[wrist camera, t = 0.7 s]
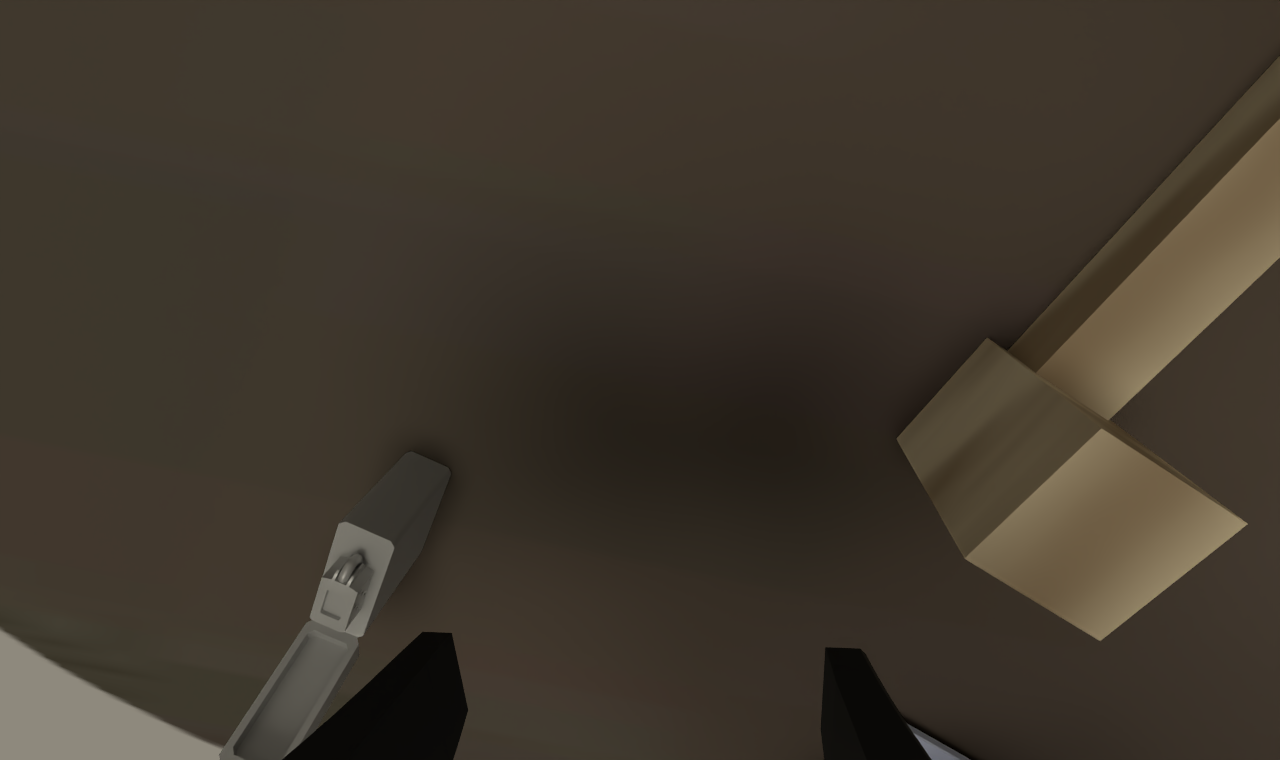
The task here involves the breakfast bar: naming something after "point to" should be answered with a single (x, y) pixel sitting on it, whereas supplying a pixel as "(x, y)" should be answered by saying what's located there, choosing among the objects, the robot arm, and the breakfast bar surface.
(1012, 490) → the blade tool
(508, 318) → the breakfast bar surface
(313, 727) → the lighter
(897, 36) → the breakfast bar surface
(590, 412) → the breakfast bar surface
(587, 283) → the breakfast bar surface
